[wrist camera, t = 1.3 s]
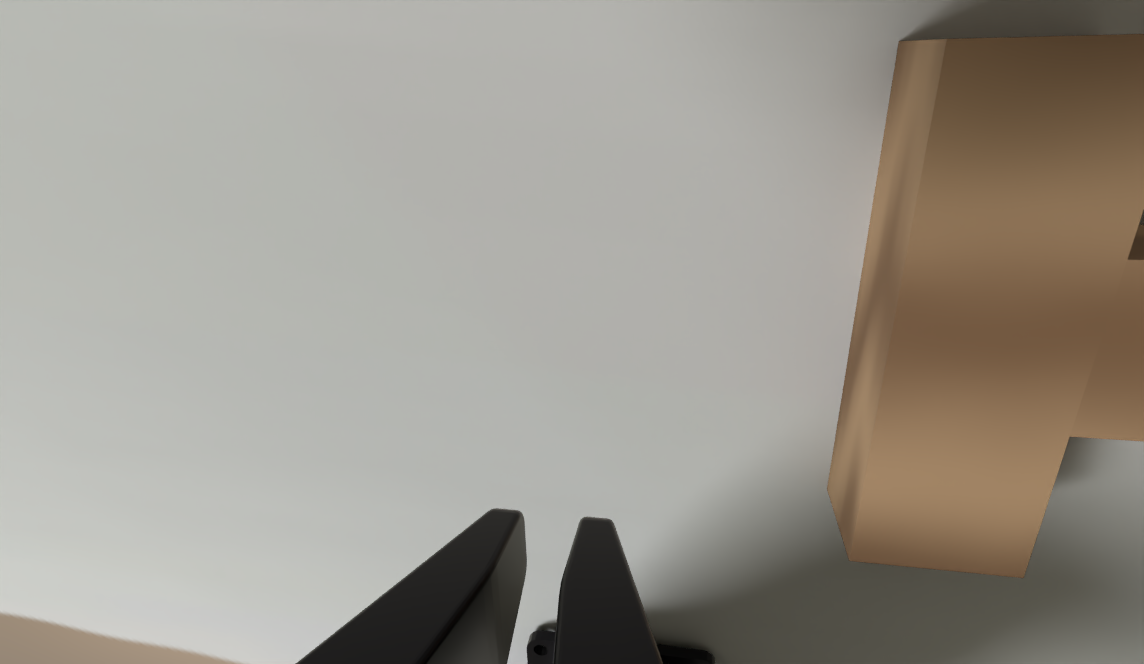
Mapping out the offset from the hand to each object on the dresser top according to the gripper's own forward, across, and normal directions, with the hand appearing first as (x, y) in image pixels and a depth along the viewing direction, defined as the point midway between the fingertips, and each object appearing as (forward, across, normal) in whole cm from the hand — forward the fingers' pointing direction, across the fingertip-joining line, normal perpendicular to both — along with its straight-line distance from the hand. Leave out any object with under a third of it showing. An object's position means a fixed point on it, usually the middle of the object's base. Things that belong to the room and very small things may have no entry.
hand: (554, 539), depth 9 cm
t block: (+10, -12, 0) cm, 16 cm away
